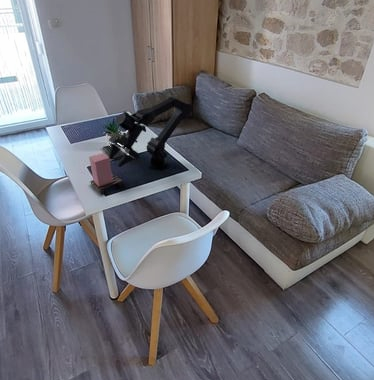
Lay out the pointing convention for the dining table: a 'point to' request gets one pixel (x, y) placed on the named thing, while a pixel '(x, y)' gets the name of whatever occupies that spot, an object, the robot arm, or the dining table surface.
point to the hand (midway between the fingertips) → (114, 162)
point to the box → (101, 169)
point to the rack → (101, 188)
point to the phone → (107, 150)
